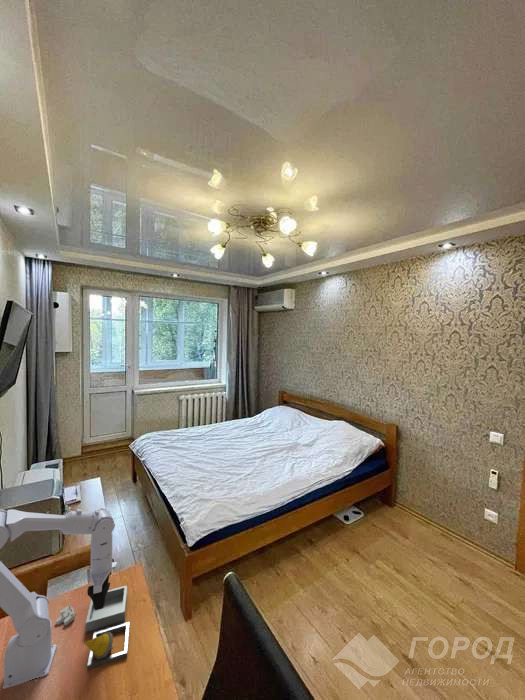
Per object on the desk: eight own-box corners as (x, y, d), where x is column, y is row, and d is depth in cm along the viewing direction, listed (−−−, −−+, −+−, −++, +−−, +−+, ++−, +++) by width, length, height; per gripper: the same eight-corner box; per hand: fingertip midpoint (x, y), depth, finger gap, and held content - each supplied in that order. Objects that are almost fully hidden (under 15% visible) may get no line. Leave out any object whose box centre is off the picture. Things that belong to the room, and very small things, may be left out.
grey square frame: (87, 671, 77) (87, 666, 77) (93, 637, 86) (93, 632, 86) (127, 657, 80) (127, 652, 80) (129, 626, 89) (129, 621, 89)
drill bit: (112, 663, 80) (83, 660, 74) (101, 656, 82) (72, 653, 77) (123, 636, 83) (96, 631, 78) (112, 631, 86) (85, 626, 80)
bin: (85, 634, 86) (85, 622, 86) (92, 604, 96) (92, 594, 96) (124, 622, 90) (124, 611, 90) (127, 595, 100) (127, 585, 100)
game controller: (51, 622, 90) (51, 614, 90) (87, 594, 100) (87, 586, 100) (63, 630, 88) (63, 621, 87) (98, 600, 98) (98, 592, 98)
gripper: (113, 566, 82) (113, 614, 82) (118, 535, 95) (118, 576, 95) (84, 573, 79) (84, 622, 79) (94, 540, 93) (94, 582, 93)
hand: (101, 597), depth 87 cm, fingers open, 7 cm apart
